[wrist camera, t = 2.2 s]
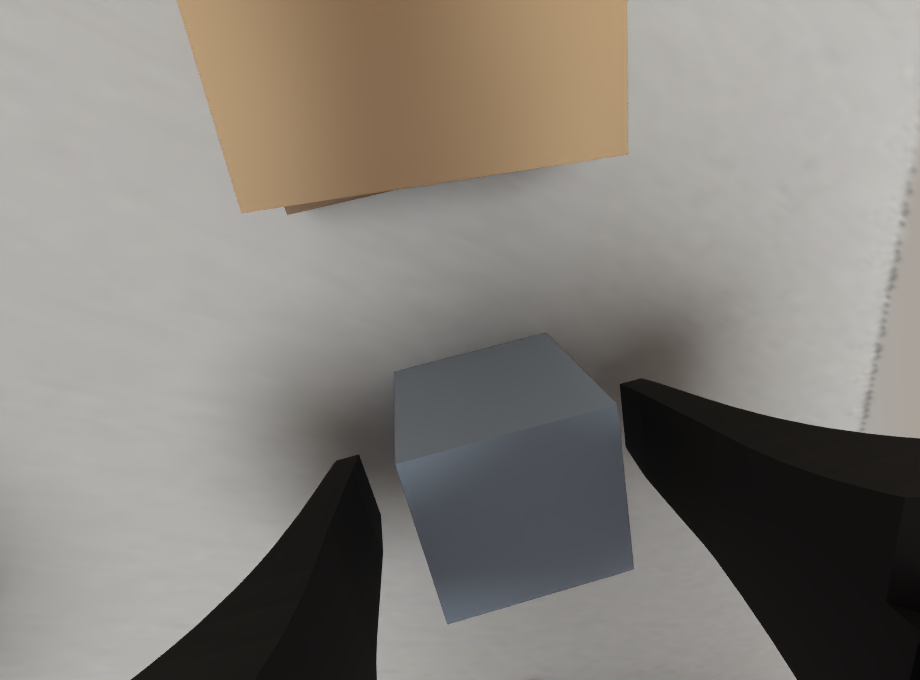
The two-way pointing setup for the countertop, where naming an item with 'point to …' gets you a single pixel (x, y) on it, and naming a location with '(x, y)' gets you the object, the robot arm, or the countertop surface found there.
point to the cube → (511, 474)
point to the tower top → (406, 90)
